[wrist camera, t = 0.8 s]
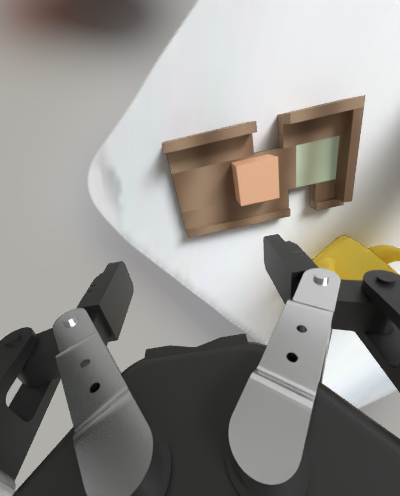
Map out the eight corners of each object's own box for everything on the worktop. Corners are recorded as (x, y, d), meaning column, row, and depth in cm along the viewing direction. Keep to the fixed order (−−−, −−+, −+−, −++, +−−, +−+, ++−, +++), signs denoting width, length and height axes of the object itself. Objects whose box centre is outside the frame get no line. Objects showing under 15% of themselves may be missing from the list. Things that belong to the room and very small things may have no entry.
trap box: (343, 99, 25) (365, 95, 22) (334, 200, 31) (350, 208, 28) (164, 141, 26) (161, 143, 23) (187, 231, 32) (187, 243, 29)
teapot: (291, 309, 40) (319, 357, 32) (289, 242, 34) (324, 280, 25) (372, 293, 40) (422, 337, 31) (386, 221, 33) (456, 253, 24)
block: (268, 154, 26) (278, 156, 23) (270, 191, 28) (279, 197, 26) (231, 162, 26) (236, 166, 24) (235, 199, 28) (241, 206, 26)
